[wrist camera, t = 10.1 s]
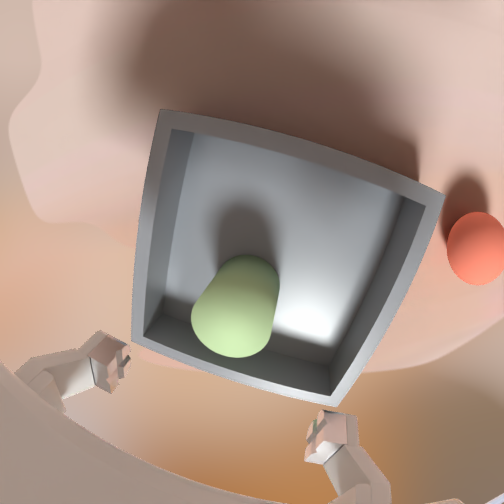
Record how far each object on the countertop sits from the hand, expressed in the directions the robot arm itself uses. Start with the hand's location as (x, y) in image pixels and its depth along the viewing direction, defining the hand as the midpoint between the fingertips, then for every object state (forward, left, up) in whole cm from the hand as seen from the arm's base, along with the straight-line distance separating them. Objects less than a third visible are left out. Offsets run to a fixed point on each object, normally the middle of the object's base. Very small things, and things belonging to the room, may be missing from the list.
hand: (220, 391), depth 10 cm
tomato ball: (-13, -8, -11) cm, 19 cm away
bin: (0, -2, -11) cm, 11 cm away
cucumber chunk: (+1, 0, -10) cm, 10 cm away
